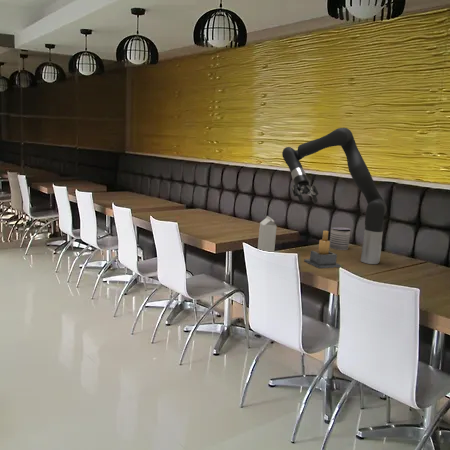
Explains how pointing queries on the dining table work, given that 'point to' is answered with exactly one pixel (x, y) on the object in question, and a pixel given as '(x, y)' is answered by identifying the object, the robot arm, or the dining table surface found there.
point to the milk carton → (267, 235)
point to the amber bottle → (324, 244)
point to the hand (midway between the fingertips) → (309, 202)
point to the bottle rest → (322, 260)
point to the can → (339, 238)
